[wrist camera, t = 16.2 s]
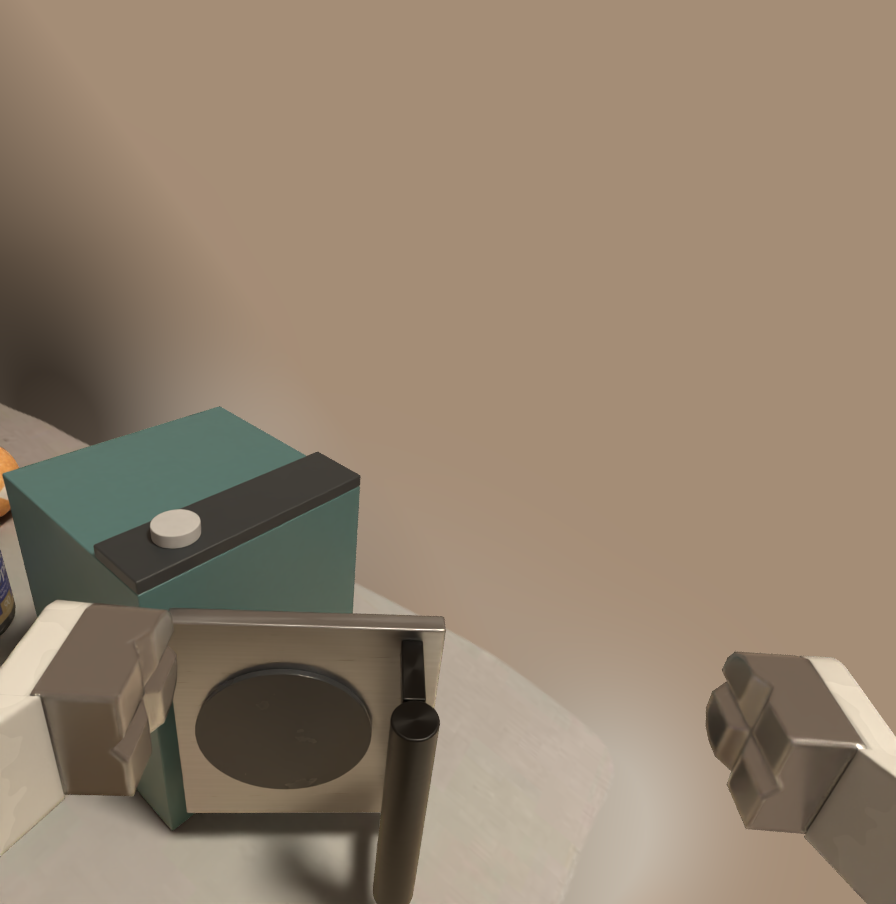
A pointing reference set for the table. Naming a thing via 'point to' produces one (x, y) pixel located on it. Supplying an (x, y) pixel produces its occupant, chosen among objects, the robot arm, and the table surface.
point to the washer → (188, 536)
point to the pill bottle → (5, 598)
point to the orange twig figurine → (3, 463)
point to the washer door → (312, 720)
